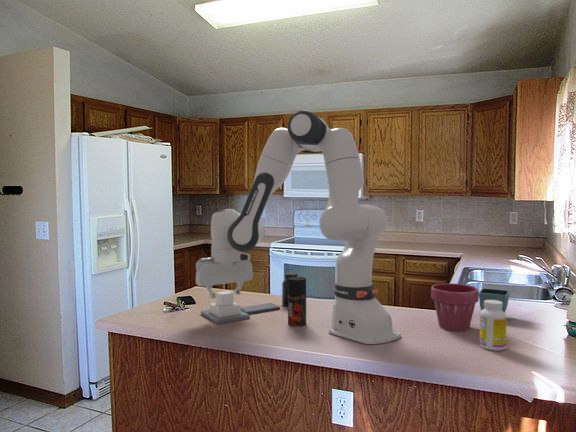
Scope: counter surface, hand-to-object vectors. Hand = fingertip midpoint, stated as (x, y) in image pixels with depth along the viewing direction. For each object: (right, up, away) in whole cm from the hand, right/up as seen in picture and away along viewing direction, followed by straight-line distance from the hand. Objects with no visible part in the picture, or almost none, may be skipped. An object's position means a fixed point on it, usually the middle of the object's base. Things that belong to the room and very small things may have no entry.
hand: (225, 296), depth 157 cm
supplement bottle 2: (+78, -9, -31) cm, 84 cm away
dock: (0, -7, +1) cm, 7 cm away
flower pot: (+92, -7, 0) cm, 93 cm away
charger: (0, -6, +1) cm, 6 cm away
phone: (+11, -7, +9) cm, 16 cm away
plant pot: (+74, -8, -12) cm, 76 cm away
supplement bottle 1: (+23, -6, +17) cm, 29 cm away
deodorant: (+25, -8, -8) cm, 27 cm away
